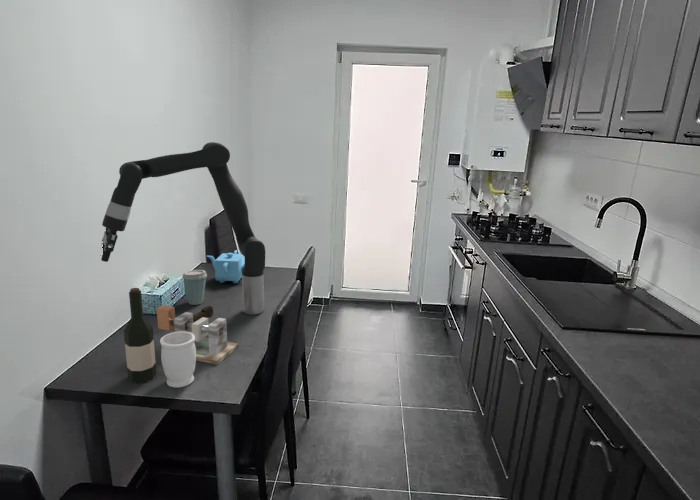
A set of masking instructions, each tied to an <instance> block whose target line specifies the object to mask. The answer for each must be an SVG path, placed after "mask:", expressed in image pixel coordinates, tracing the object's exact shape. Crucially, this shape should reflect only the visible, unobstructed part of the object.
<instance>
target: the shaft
mask: <svg viewBox="0 0 700 500" xmlns="http://www.w3.org/2000/svg"><path fill="white" fill-rule="evenodd" d="M175 309H176V308H175V306H172V305H166V304H162V305H160V306H158V307H156V317H157V329H159V330H164V331H169V332H170V331H172V330H173V329H174V318H176V311H175ZM192 324H193V323H189V322H186V323H185V328H188V329H192ZM201 331H204V332H208V326H206V325H203V326H202V327H201Z"/></svg>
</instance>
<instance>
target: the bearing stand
mask: <svg viewBox="0 0 700 500" xmlns="http://www.w3.org/2000/svg"><path fill="white" fill-rule="evenodd" d="M193 315H194V314H193V312H188V311H185V312H184V313H181V314H180V315H178V316H175V318H174V328H173V329H174V332H179V331H186V332H191V333H192V329H188V328H185V323H186V322H189V323H193ZM227 326H228V325H227V318H224V317H223V318H222V317H218V318H216V319H215V320H214V321H212V322H210V323H209V325H208V335H207V336H206V337H205V338H203V339H202V340H200V341H199V342H198V341H194V344H195V348H196V362H197V361H198V362H201V363H206V364H210V365H214V366H215V365H216V366H217V365H219V364H220V363H222V362H223V361H224V360H226V358H227V357H228V356H229V357H230V355H231V354H232V353H234V351H236V350H237V349H238V348H239V347H240V346H239V343H238V342H237V343H236V342H232V341H228V333H227V332H228V330H227V329H228V328H227Z"/></svg>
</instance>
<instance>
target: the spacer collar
mask: <svg viewBox="0 0 700 500" xmlns="http://www.w3.org/2000/svg"><path fill="white" fill-rule="evenodd" d="M209 324H210V323H209V318H205V317H202V318H201V319H199V320H197V321H196V322H194V323H193V324H192V333H193V334H194V335H195V341H198V342H199V341H200V340H202V339H203V338H205V337H206V338H207V337H208V332H204V331H201V327H202V326H203V325H206V326H208V325H209Z"/></svg>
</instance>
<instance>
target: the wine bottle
mask: <svg viewBox="0 0 700 500" xmlns="http://www.w3.org/2000/svg"><path fill="white" fill-rule="evenodd" d="M128 296H129V297H128V298H129V307H130V318H129V321H128V323H127V324H126V326H125V328H124V330H123V337H124V346H125V347H124V348H125V358H126V359H125V360H126V367H127V368H126V369H127V378H128V380H129V379H130V380H131V381H132V382H144V383H147V382H149V381H151V379H152V380H154V379H155V377H156V375H157V365H156V352H155V351H156V350H155V340H154V328H153V326H152V324H151V323H150V322H149V321H148V320H147V318H146V317H145V316H144V309H143V297H142V296H143V295H142V291H141V290H140V288H139V287H133V288H130V291H129V292H128ZM130 380H129V381H130ZM148 380H149V381H148ZM131 381H130V382H131ZM146 381H147V382H146ZM132 382H131V383H132Z"/></svg>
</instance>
